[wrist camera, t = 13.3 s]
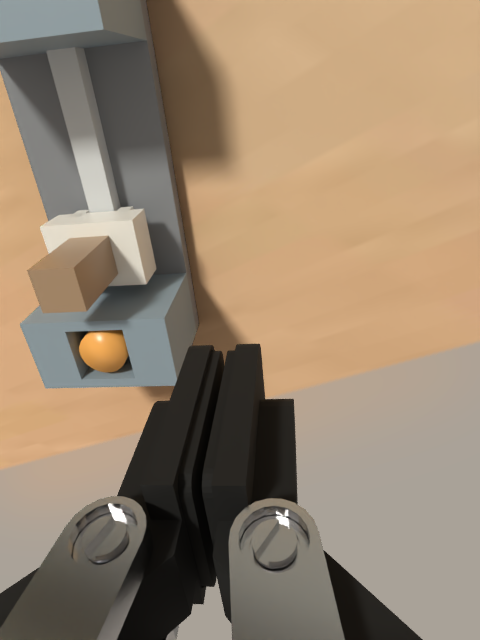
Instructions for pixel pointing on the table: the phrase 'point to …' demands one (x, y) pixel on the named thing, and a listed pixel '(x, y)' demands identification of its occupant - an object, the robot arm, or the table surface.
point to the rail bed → (123, 138)
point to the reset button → (104, 350)
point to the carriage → (91, 257)
